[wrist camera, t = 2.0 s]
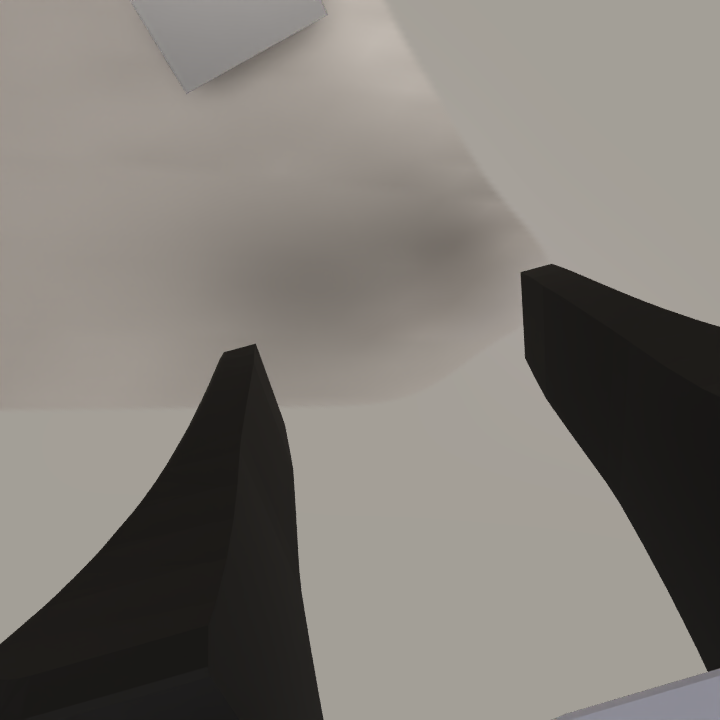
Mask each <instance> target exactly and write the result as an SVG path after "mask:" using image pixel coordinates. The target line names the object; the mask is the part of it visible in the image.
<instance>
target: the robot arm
mask: <svg viewBox="0 0 720 720" xmlns="http://www.w3.org/2000/svg"><path fill="white" fill-rule="evenodd" d="M521 287H522V306H523V326H524V345H525V359H526V361H527V363H528V365H529V367H530V369H531V371H532V373H533V375H534V377H535V379H536V380H537V382H538V384H539V386H540V388H541V390H542V392H543V393H544V395H545V397H546V399H547V400H548V402H549V403H550V405H551V406H552V408H553V409H554V410H555V412H556V413H557V415H558V416H559V418H560V419H561V420H562V422H563V423H564V425H565V426H566V427H567V429H568V430H569V432H570V433H571V434H572V436H573V437H574V439H575V440H576V441H577V443H578V444H579V445H580V447H581V448H582V449H583V451H584V452H585V454H586V455H587V457H588V458H589V459H590V461H591V462H592V463H593V465H594V466H595V468H596V469H597V470H598V472H599V473H600V475H601V476H602V477H603V479H604V480H605V481H606V483H607V484H608V486H609V487H610V489H611V490H612V492H613V494H614V495H615V497H616V498H617V500H618V501H619V503H620V504H621V506H622V508H623V510H624V512H625V513H626V515H627V517H628V519H629V520H630V522H631V524H632V526H633V527H634V529H635V531H636V533H637V534H638V536H639V538H640V540H641V542H642V543H643V545H644V547H645V549H646V551H647V553H648V555H649V556H650V558H651V560H652V562H653V564H654V566H655V568H656V569H657V571H658V573H659V575H660V577H661V579H662V581H663V583H664V584H665V586H666V588H667V590H668V592H669V594H670V596H671V597H672V600H673V602H674V604H675V606H676V608H677V610H678V612H679V614H680V616H681V618H682V619H683V621H684V623H685V626H686V628H687V630H688V632H689V634H690V636H691V638H692V640H693V642H694V644H695V646H696V647H697V650H698V652H699V654H700V656H701V658H702V660H703V662H704V664H705V667H706V669H707V671H708V672H706V673H703V674H699V675H696V676H693V677H689V678H686V679H682V680H679V681H676V682H672V683H669V684H665V685H662V686H659V687H655V688H652V689H649V690H645V691H642V692H638V693H635V694H631V695H628V696H624V697H622V698H618V699H614V700H611V701H608V702H604V703H601V704H597V705H594V706H591V707H588V708H584V709H580V710H577V711H574V712H570V713H567V714H564V715H562V716H559V717H557V718H555V719H552V720H720V327H719V326H715V325H712V324H708V323H705V322H701V321H699V320H695V319H693V318H690V317H687V316H684V315H681V314H678V313H675V312H672V311H669V310H666V309H663V308H660V307H658V306H655V305H653V304H650V303H647V302H644V301H642V300H640V299H637V298H634V297H632V296H630V295H627V294H625V293H622V292H620V291H617V290H615V289H612V288H610V287H608V286H605V285H603V284H600V283H598V282H596V281H593V280H591V279H589V278H587V277H584V276H581V275H579V274H577V273H574V272H572V271H570V270H567V269H565V268H562V267H559V266H556V265H553V264H550V265H546V266H542V267H538V268H535V269H531V270H527V271H524V272H521ZM0 720H323V715H322V709H321V704H320V698H319V693H318V687H317V681H316V676H315V670H314V664H313V658H312V653H311V647H310V641H309V635H308V629H307V623H306V617H305V611H304V605H303V598H302V592H301V583H300V573H299V559H298V542H297V525H296V507H295V491H294V476H293V466H292V460H291V455H290V449H289V444H288V439H287V433H286V429H285V424H284V421H283V418H282V415H281V412H280V410H279V407H278V404H277V401H276V399H275V396H274V393H273V390H272V388H271V385H270V382H269V379H268V377H267V374H266V371H265V368H264V365H263V363H262V360H261V357H260V354H259V352H258V349H257V346H256V344H253V345H249V346H246V347H242V348H238V349H235V350H231V351H227V352H224V353H223V355H222V356H221V358H220V360H219V362H218V365H217V367H216V369H215V372H214V374H213V376H212V379H211V381H210V383H209V386H208V388H207V390H206V392H205V394H204V396H203V399H202V401H201V403H200V405H199V407H198V409H197V411H196V413H195V415H194V417H193V419H192V421H191V423H190V425H189V427H188V429H187V430H186V433H185V434H184V436H183V438H182V439H181V441H180V443H179V444H178V446H177V448H176V450H175V451H174V453H173V455H172V456H171V458H170V460H169V462H168V463H167V465H166V467H165V468H164V470H163V471H162V473H161V474H160V476H159V477H158V479H157V480H156V482H155V483H154V485H153V486H152V488H151V489H150V490H149V492H148V493H147V495H146V496H145V497H144V499H143V500H142V501H141V503H140V504H139V505H138V506H137V508H136V509H135V511H134V512H133V513H132V514H131V515H130V516H129V517H128V519H127V520H126V521H125V522H124V523H123V524H122V526H121V527H120V528H119V529H118V530H117V532H116V533H115V534H114V535H113V536H112V537H111V539H110V540H109V541H108V542H107V543H106V544H105V546H104V547H103V548H102V549H101V550H100V551H99V552H98V554H96V556H95V557H94V558H93V559H92V560H91V561H90V562H89V563H88V564H87V565H86V566H85V567H84V568H83V569H82V570H81V571H80V572H79V573H78V574H77V575H76V576H75V577H74V578H73V579H72V580H71V581H70V582H69V583H68V584H67V585H66V586H65V587H64V588H63V589H62V590H61V591H60V592H59V593H58V594H57V595H56V596H55V597H54V598H52V599H51V600H50V601H49V602H48V603H47V604H46V605H45V606H44V607H43V608H42V609H40V610H39V611H38V612H37V613H36V614H35V615H34V616H32V617H31V618H30V619H29V620H28V621H27V622H25V623H24V624H23V625H22V626H21V627H20V628H18V629H17V630H16V631H15V632H14V633H13V634H12V635H10V636H9V637H8V638H7V639H6V640H5V641H3V642H2V643H1V644H0Z"/></svg>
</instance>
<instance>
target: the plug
mask: <svg viewBox="0 0 720 720" xmlns="http://www.w3.org/2000/svg"><path fill="white" fill-rule="evenodd" d="M130 2H131V3H132V5H133V7H134V8H135V10H136V12H137V13H138V15H139V17H140V18H141V20H142V22H143V23H144V25H145V26H146V28H147V30H148V31H149V33H150V35H151V36H152V38H153V40H154V41H155V43H156V45H157V46H158V48H159V50H160V51H161V53H162V55H163V56H164V58H165V60H166V61H167V63H168V64H169V66H170V68H171V69H172V71H173V73H174V74H175V76H176V78H177V79H178V81H179V83H180V84H181V86H182V88H183V89H184V91H185V93H186V94H187V93H189V92H191V91H193V90H194V89H196V88H198V87H200V86H201V85H203V84H205V83H207V82H209V81H210V80H212V79H214V78H216V77H218V76H219V75H221V74H223V73H225V72H227V71H228V70H230V69H232V68H234V67H236V66H237V65H239V64H241V63H243V62H245V61H246V60H248V59H250V58H252V57H253V56H255V55H257V54H259V53H261V52H262V51H264V50H266V49H268V48H270V47H271V46H273V45H275V44H277V43H279V42H280V41H282V40H284V39H286V38H288V37H289V36H291V35H293V34H295V33H297V32H298V31H300V30H302V29H304V28H305V27H307V26H309V25H311V24H313V23H314V22H316V21H318V20H320V19H322V18H323V17H325V16H327V15H328V14H327V11H326V9H325V7H324V4H323V2H322V0H130Z"/></svg>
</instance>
